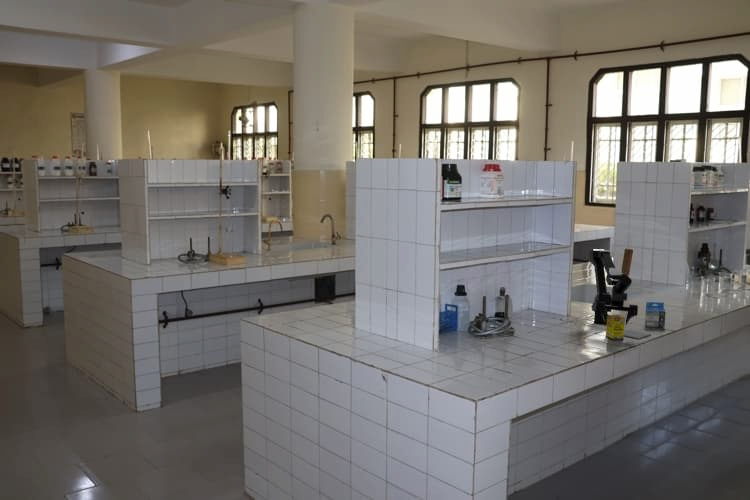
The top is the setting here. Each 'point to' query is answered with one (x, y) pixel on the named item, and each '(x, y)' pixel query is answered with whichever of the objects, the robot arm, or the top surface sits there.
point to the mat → (635, 334)
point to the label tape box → (655, 315)
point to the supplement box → (615, 327)
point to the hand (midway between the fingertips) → (615, 323)
